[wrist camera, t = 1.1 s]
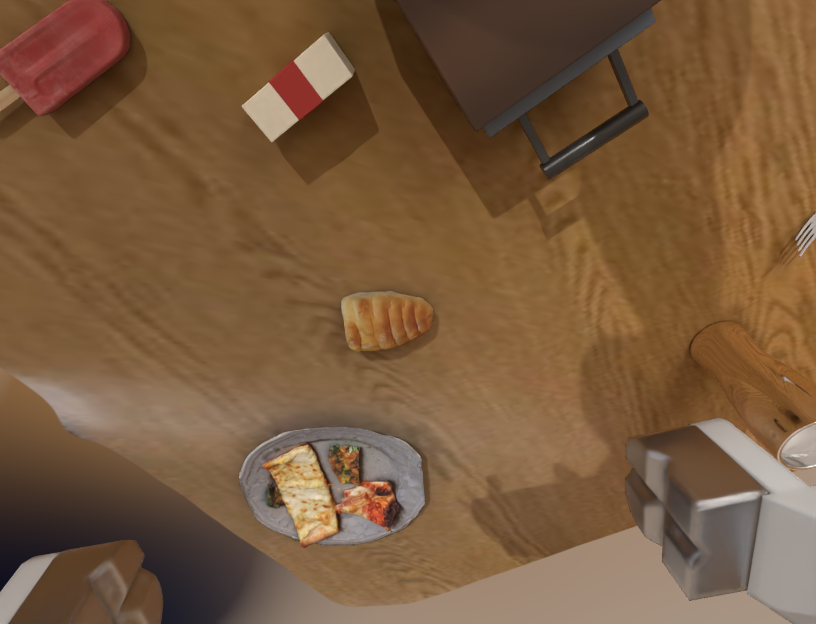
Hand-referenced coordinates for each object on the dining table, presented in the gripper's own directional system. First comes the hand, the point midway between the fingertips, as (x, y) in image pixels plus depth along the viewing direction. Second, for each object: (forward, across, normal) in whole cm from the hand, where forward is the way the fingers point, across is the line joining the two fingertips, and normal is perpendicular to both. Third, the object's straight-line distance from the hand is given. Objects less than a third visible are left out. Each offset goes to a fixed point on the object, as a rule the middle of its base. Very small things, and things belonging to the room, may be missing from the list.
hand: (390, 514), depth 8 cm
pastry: (+40, +1, +13) cm, 42 cm away
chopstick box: (+36, +3, -9) cm, 38 cm away
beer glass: (+39, -36, +24) cm, 58 cm away
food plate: (+46, +11, +38) cm, 60 cm away
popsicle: (+37, +22, -14) cm, 45 cm away
